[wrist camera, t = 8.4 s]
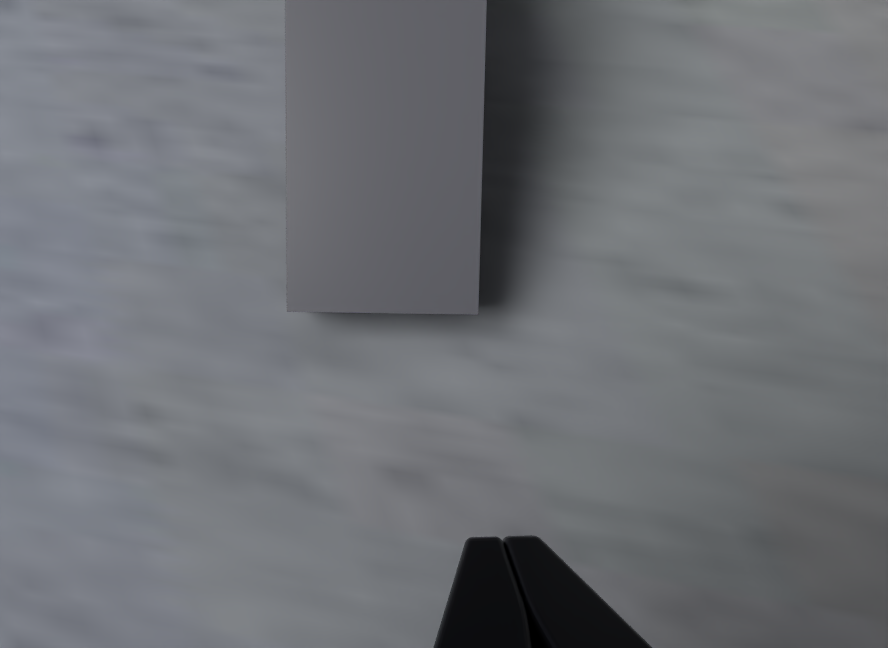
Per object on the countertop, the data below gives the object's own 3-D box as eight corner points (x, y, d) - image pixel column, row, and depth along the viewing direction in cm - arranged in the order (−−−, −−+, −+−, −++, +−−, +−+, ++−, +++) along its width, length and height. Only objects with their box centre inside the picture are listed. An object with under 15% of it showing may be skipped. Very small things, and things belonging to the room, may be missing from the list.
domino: (478, 314, 19) (488, -89, 18) (286, 311, 19) (284, -97, 18) (472, 306, 21) (481, -57, 20) (298, 304, 21) (297, -64, 20)
